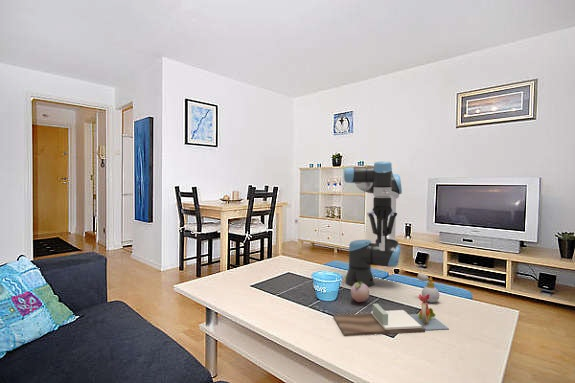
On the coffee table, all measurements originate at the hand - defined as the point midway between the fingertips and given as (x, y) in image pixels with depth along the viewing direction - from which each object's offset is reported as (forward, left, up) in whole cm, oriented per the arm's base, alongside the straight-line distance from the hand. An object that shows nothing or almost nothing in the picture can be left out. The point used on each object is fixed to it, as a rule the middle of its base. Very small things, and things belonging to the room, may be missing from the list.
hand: (381, 250), depth 135 cm
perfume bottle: (-4, +24, -25) cm, 35 cm away
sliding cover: (+17, -2, -24) cm, 29 cm away
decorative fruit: (-5, -8, -25) cm, 27 cm away
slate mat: (+17, +12, -25) cm, 32 cm away
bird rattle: (+17, +11, -25) cm, 32 cm away
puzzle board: (+17, -9, -25) cm, 32 cm away
